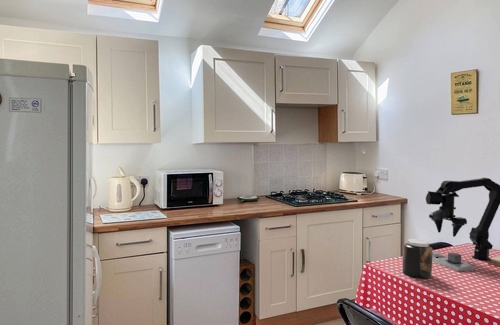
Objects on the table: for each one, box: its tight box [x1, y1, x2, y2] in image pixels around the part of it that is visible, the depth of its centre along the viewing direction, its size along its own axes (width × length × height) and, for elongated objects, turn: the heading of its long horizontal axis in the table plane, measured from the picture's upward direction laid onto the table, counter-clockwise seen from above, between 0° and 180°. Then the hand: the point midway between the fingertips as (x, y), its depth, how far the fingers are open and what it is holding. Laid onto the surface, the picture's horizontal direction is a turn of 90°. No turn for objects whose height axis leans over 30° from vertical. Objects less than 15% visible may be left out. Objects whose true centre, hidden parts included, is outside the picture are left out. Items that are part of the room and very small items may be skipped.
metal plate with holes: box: [432, 250, 476, 273], centre depth 178 cm, size 10×24×2 cm, turn 18°
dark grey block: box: [447, 252, 462, 264], centre depth 173 cm, size 4×4×6 cm
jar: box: [402, 238, 433, 280], centre depth 160 cm, size 12×12×15 cm
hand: (446, 234), depth 188 cm, fingers open, 9 cm apart
